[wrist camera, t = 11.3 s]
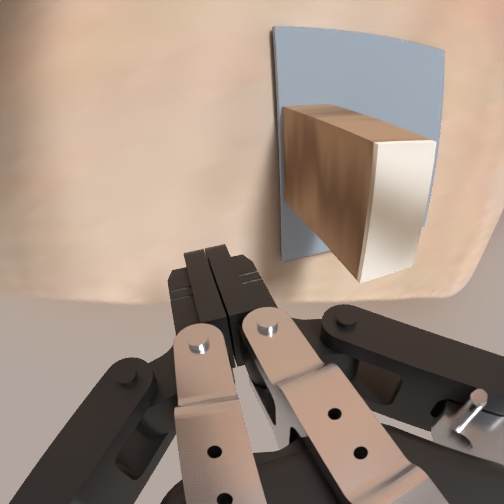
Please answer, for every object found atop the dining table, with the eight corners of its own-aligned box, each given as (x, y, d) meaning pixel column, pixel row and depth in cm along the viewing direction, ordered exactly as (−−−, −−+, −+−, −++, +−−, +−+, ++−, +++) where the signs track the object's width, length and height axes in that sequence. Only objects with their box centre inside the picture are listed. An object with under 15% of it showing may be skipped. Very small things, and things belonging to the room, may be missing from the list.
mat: (272, 27, 16) (274, 26, 16) (441, 49, 20) (444, 50, 19) (281, 259, 27) (283, 262, 26) (421, 224, 30) (424, 226, 30)
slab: (282, 106, 19) (378, 144, 11) (330, 104, 20) (436, 142, 12) (284, 201, 23) (359, 283, 15) (327, 193, 24) (412, 266, 16)
